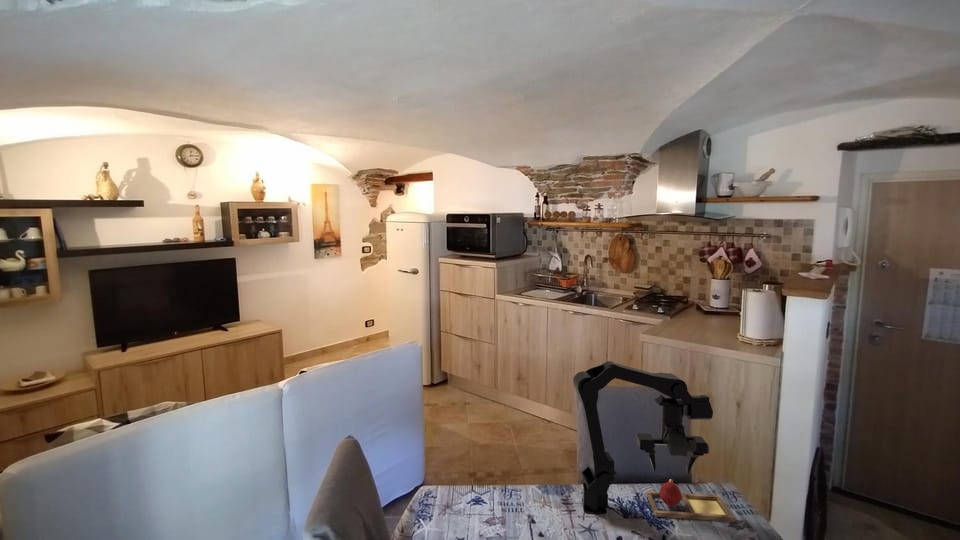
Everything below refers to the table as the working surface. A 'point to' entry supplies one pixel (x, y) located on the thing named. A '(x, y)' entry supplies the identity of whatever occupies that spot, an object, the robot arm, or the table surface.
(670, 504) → the red pomegranate
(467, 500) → the table surface
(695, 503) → the wooden divided frame
